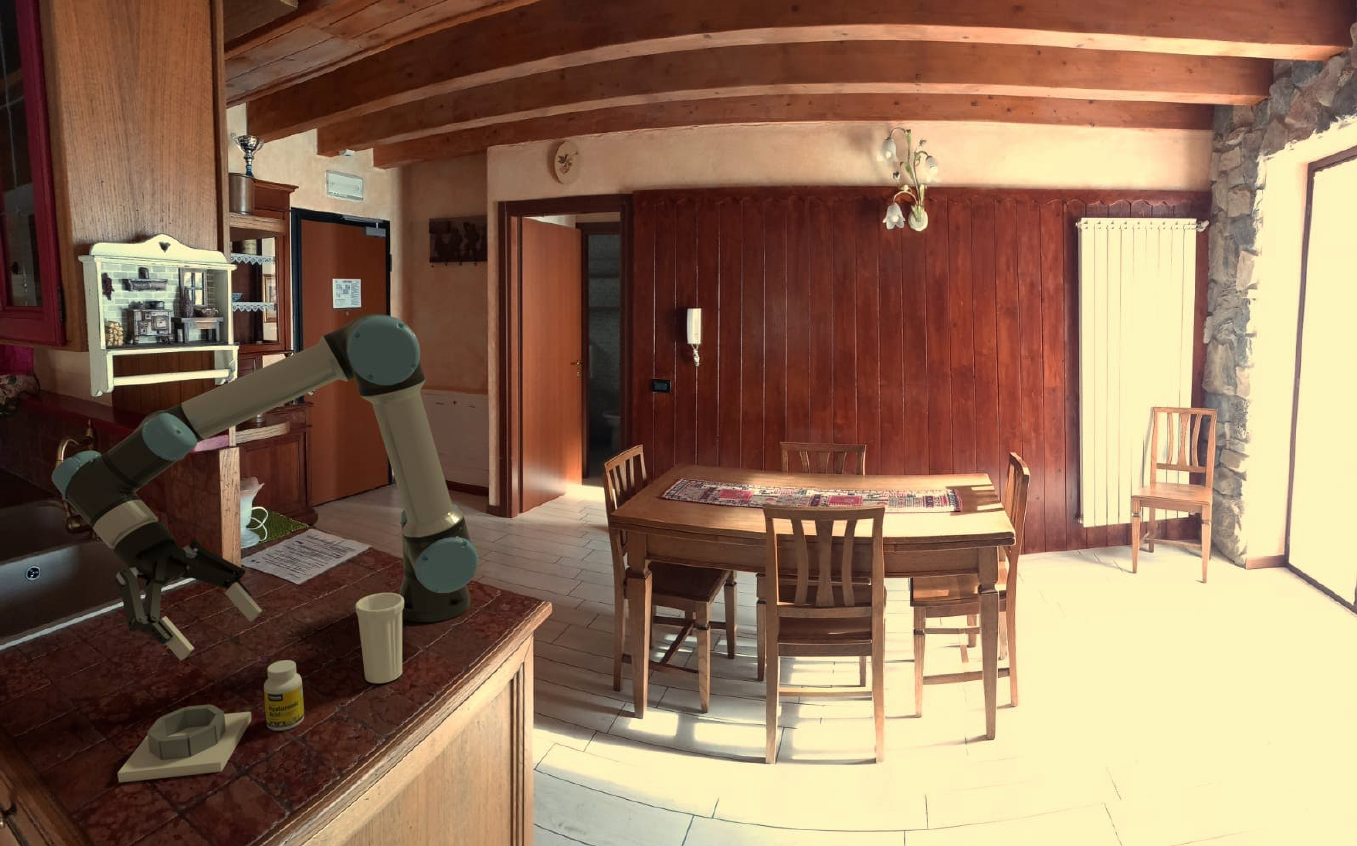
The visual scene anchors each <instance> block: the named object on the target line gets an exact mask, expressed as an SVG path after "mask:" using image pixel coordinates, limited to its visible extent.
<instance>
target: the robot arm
mask: <svg viewBox="0 0 1357 846" xmlns="http://www.w3.org/2000/svg"><path fill="white" fill-rule="evenodd" d="M420 350H421V347H420V342H419V340H418V338H417V336H416V333H414V331H413V329H412V328H411V327H410V326H408V325H407V323H406V322H404V321H403V320H400V319H399V318H397V317H393V316H392V315H387V314H384V313H379V312H371V313H369V312H368V313H365V314H362V315H360V316H358V317H356V318H354V319H353V320H351V321H349V322H347V323H346V324H343V325H342V326H341V327H339V328H336V329H334V330H333V331H331V332H329V333H326V334H324V335H322V336H321V337H320V339H319V342H318V343H317V344H314V345H313V346H310V347H308V348H305V349H303V350H301V351H299V352H296V353H294V354H291V355H289V356H287V357H284V358H283V359H281V360H277V361H276V362H273V363H271V364H269V365H266V366H264V367H261V368H259V369H257V370H255V371H252V372H250V373H248V374H246V375H243V376H241V377H239V378H238V377H237V378H236V379H234V380H231V381H228V382H227V383H225V384H223V385H220V386H218V387H215V388H213V389H211V390H208V391H205V392H204V393H201V394H199V395H197V396H195V397H191V398H190V399H187V400H185V401H183V402H181V403H179V404H177V405H174V406H172V407H169V408H166V409H164V410H158V411H155V412H152V413H150V414H149V415H147V416H146V417H144V418H143V420H142V421H141V422H140V424H139V425H138V426H137V428H135V429H134V430H133V432H132V433H131V434H129V435H128V436H126V438H124V439H122V440H121V441H120V442H119V443H118V444H116V445H114V446H113V447H112V448H111V449H109V450H108V451H106V452H104V453H103V454H101V453H100V452H98V451H95V450H85V451H80V452H78V453H75V455H73V456H71V457H68V458H66V459H63V461H61V462H60V463H59V464H58V465H57V466H56V467H55V468H54V470H53V471H52V474H51V481H52V483H53V484H54V485H55V487H56V488H57V490H58V491H59V492H60V493H61V495H62V496H63V499H64V500H65V501H66V502H68V503H69V504H70V505H71V506H72V508H73V509H74V510H75V511H76V512H77V513H78V514H79V515H80V516H81V517H82V518H83V520H85V522H86V523H87V524H88V525H89V526H90V527H91V529H93V531H94V532H95V534H96V535H97V536H98V537H99V538H100V539H101V540H102V542H103V543H105V544H106V545H107V547H108V548H110V549H113V554H114V555H115V556H116V557H117V558H118V560H119V561H120V562H121V563H122V564H123V565H124V567H122V568H121V569H120V570H119V572H117V574H116V575H115V576H114V578H113V581H114V582H115V584H116V585H117V587H118V588H119V590H120V594H121V599H122V604H123V608H124V614H125V619H126V623H127V627H128V631H130V632H132V633H134V632H137V631H138V630H139V631H140V632H141V633H147V632H149V633H150V634H151V635H152V636H153V637H154V638H155V639H156V640H157V642H159V644H161V645H167V647H168V648H169V649H170V650H171V651H172V652H173V654H174V655H175V656H176V657H177V658H178V659H179V661H183V660H184V659H186V658H187V657H188V656H189V655H190V654H191V652H192V651H194V650H195V647H194V646H193V645H192V644H191V642H189V640H188V639H187V638H186V637H185V636H184V635H183V634H182V633H181V631H180V630H179V629H178V628H177V627H176V626H175V625H174V623H173V622H172V621H171V620H170V619H169V618H168V617H167V616H163V617H162V618H160V614H161V613H160V612H161V602H162V601H161V599H162V591H163V590H162V589H163V587H164V586H166V585H168V584H169V583H170V582H173V581H174V582H175V581H177V580H179V579H181V578H182V579H190V578H191V579H194V580H197V581H199V582H200V581H201V582H204V583H206V584H209V585H212V586H213V585H214V586H217V587H219V588H223V589H225V590H226V591H225V592H224V594H225V596H227V597H228V598H229V599H230V600H231V602H232V603H233V605H235V606H236V608H237V609H238V610H239V611H240V612H241V614H243V615H244V617H245V618H246V619H247V620H248V621H249V622H252V621H254V620H255V619H257V618H258V616H259V615H260V614H261V613H262V612H263V610H262V608H261V607H260V606H259V605H258V604H257V603H256V601H254V599H253V598H252V594H251V592H250V590H248V589H247V588H246V586H244V584H243V583H242V582H241V579H242V578H243V576H244V575H245V574H246V570H245V569H244V568H242V567H240V566H238V565H236V564H234V563H232V562H231V561H229V560H227V559H225V558H224V557H222V556H219V555H218V554H216V553H214V552H212V551H210V550H209V549H206V548H205V547H204V546H203V545H202V544H201V543H200V542H199V541H197V540H192V541H190V543H189V544H188V545H186V546H183V548H182V547H180V546H178V544H176V541H175V536H174V535H173V533H171V532H170V531H169V530H168V528H167V527H166V526H165V525H164V523H162V521H161V522H160V521H158V520H159V519H158V516H156V514H155V513H154V512H153V511H152V510H151V509H150V508H149V507H148V506H147V505H146V504H145V502H144V501H143V500H142V499H141V498H140V497H139V496H138V494H137V491H139V490H140V489H141V488H143V487H144V486H146V485H147V484H148V483H149V482H150V481H152V480H153V479H155V478H157V477H158V476H159V475H160V474H162V473H163V472H165V471H166V470H167V469H169V468H170V467H172V466H173V465H175V463H177V462H179V461H181V460H184V458H185V456H187V455H188V453H190V452H191V451H193V450H194V449H195V448H196V447H197V445H198V443H200V442H202V441H204V440H206V439H208V438H210V437H213V436H215V435H217V434H219V433H221V432H224V431H226V430H229V429H230V428H233V427H235V426H237V425H239V424H241V423H244V422H247V421H248V420H251V419H253V418H255V417H257V416H259V415H262V414H264V413H266V412H268V411H271V410H273V409H275V408H277V407H280V406H282V405H284V404H287V403H289V402H291V401H293V400H295V399H298V398H300V397H302V396H305V395H306V394H308V393H312V392H313V391H315V390H317V389H321V388H322V387H324V386H327V385H329V384H332V383H334V382H335V381H339V380H340V381H343V382H348V381H350V380H353V379H354V380H355V384H356V386H357V389H358V393H359V395H360V398H362V399H363V400H366V401H368V402H369V403H371V404H372V409H373V412H374V414H375V415H374V416H375V418H376V420H377V424H378V428H379V432H380V434H381V437H382V441H383V444H384V447H385V451H386V454H387V456H388V460H389V464H390V467H391V471H392V472H393V478H394V479H395V483H396V486H397V490H398V493H399V496H400V499H401V502H402V506H403V510H401V511H402V512H401V518H400V519H401V520H400V525H401V539H402V544H401V545H402V559H403V560H402V561H403V579H402V582H401V584H400V589H399V592H398V594H399V595H401V596H402V597H403V598H404V608H403V610H402V620H406V621H408V622H415V623H434V622H435V623H436V622H440V621H446V620H450V619H454V618H456V617H458V616H460V615H462V614H463V613H465V612H467V610H468V609H469V608H470V606H471V595H470V592H469V589H468V586H467V585H468V584H469V582H471V580H472V579H473V578H474V577H475V575H476V573H477V571H478V568H479V559H480V558H479V554H478V550H477V548H476V547H475V545H474V543H472V539H471V537H470V533H469V530H468V526H467V523H466V519H465V516H464V513H463V511H462V510H460V509H459V507H458V505H456V504H455V503H452V500H451V497H450V494H449V489H448V486H447V482H446V479H445V475H444V472H443V468H442V465H441V462H440V458H439V454H438V451H437V448H436V445H435V440H434V437H433V434H432V429H431V426H430V423H429V419H428V416H427V412H426V409H425V405H424V403H423V399H422V398H423V397H422V395H421V389H422V387H424V384H425V383H426V377H425V376H424V370H423V368H422V364H421V360H420V359H421V352H420ZM137 578H138V579H140V580H143V581H144V593H145V594H144V605H143V601H142V596H141V592H140V587H139V582H138V579H137Z"/></svg>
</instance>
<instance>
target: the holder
mask: <svg viewBox="0 0 1357 846" xmlns="http://www.w3.org/2000/svg"><path fill="white" fill-rule="evenodd" d="M251 721H252V712H251V711H243V712H232V713H231V712H230V713H225V711H224V710H222V709H220V708H218V707H217V706H216V705H214V704H203V705H190V706H186V707H182V708H179V709H177V710H174V711H172V712H169V713H167V714H165V715H163V716H161V717H159V718H157V720H155V722H154V723H153V725H151V727H150V728H149V729H148V730H147V735H146V736H145V738H144V739H143V740H142V741H141V743H140V744H139V745H138V747H137V748H136V749H135V750H134V751H133V753H132V754H131V755H130V756H129V758H128V759H127V760H126V761H125V763H124V764H123V766H122V767H121V768H120V769H119V771H118V772H117V779H118V783H126V782H127V783H128V782H136V781H137V782H138V781H144V780H146V781H147V780H155V779H164V778H173V777H183V776H191V775H192V776H193V775H200V774H201V775H202V774H209V773H210V774H211V773H218V772H219V773H221V772H222V771H223V770H224V768H225V766H226V764H227V762H229V761H228V760H230V758H231V756H232V755H233V752H234V751H235V749H236V747H237V746H238V744H239V743H240V741H241V739H242V737H243V735H244V733H245V732H246V730H247V728H248V727H249V725H250V723H251Z"/></svg>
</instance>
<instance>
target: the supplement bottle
mask: <svg viewBox="0 0 1357 846" xmlns="http://www.w3.org/2000/svg"><path fill="white" fill-rule="evenodd" d="M266 670H267V679H266V680H265V682H264V684H263V693H264V694H263V697H264V709H265V718H266V719H265V721H266V727H267V728H269V730H272V731H275V732H276V731H277V732H279V731H287V730H289V729H292V728H295V727H297V726H299V725H300V724H301V723H303V721H304V718H305V708H304V707H305V705H304V691H303V681H302V677H301V675H300V674H299V673H298V672H297V663H296V662H295V661H294V660H289V659H285V660H277V661H275V662H273V663H271V664H270V665H269V666H268V667H267V669H266Z"/></svg>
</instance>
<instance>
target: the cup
mask: <svg viewBox="0 0 1357 846" xmlns="http://www.w3.org/2000/svg"><path fill="white" fill-rule="evenodd" d="M403 608H404V598H403V597H402V596H401V595H399V593H395V592H379V593H373V594H370V595H366V596H364V597H362V598H360V599H359V600H358V601H357V602H356V603H355V612H356V615H357V619H358V627H359V638H360V643H361V652H362V662H363V663H362V664H363V670H364V680H366V681H367V682H368V683H372V684H385V683H389V682H392V681H395V680H396V679H398V678H399V677H400V676H401V675H402V674H403V618H402V610H403Z"/></svg>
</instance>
